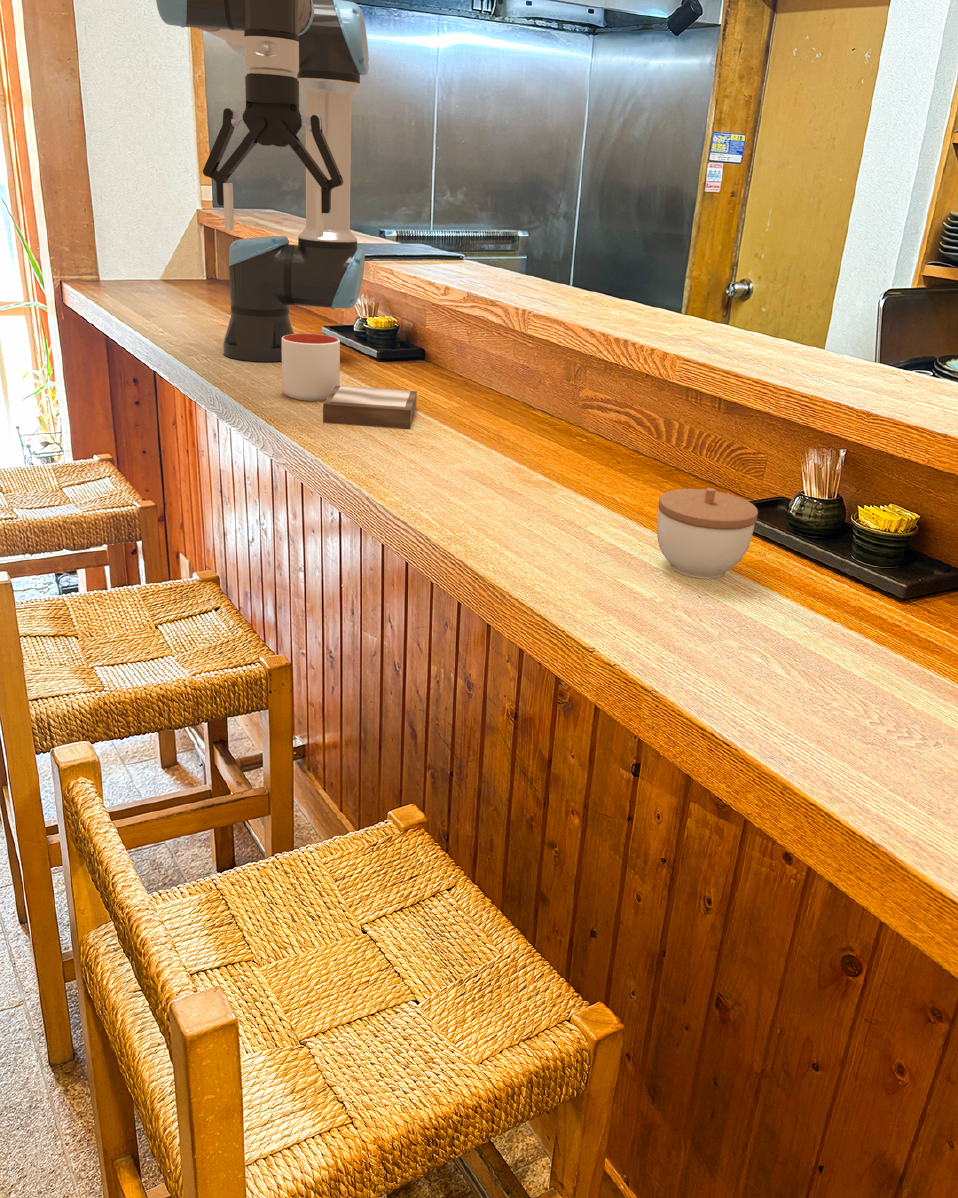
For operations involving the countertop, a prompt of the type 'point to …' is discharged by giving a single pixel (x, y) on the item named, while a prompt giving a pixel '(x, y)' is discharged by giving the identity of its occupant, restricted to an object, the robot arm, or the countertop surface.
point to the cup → (310, 366)
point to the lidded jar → (704, 531)
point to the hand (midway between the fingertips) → (274, 233)
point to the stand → (370, 407)
